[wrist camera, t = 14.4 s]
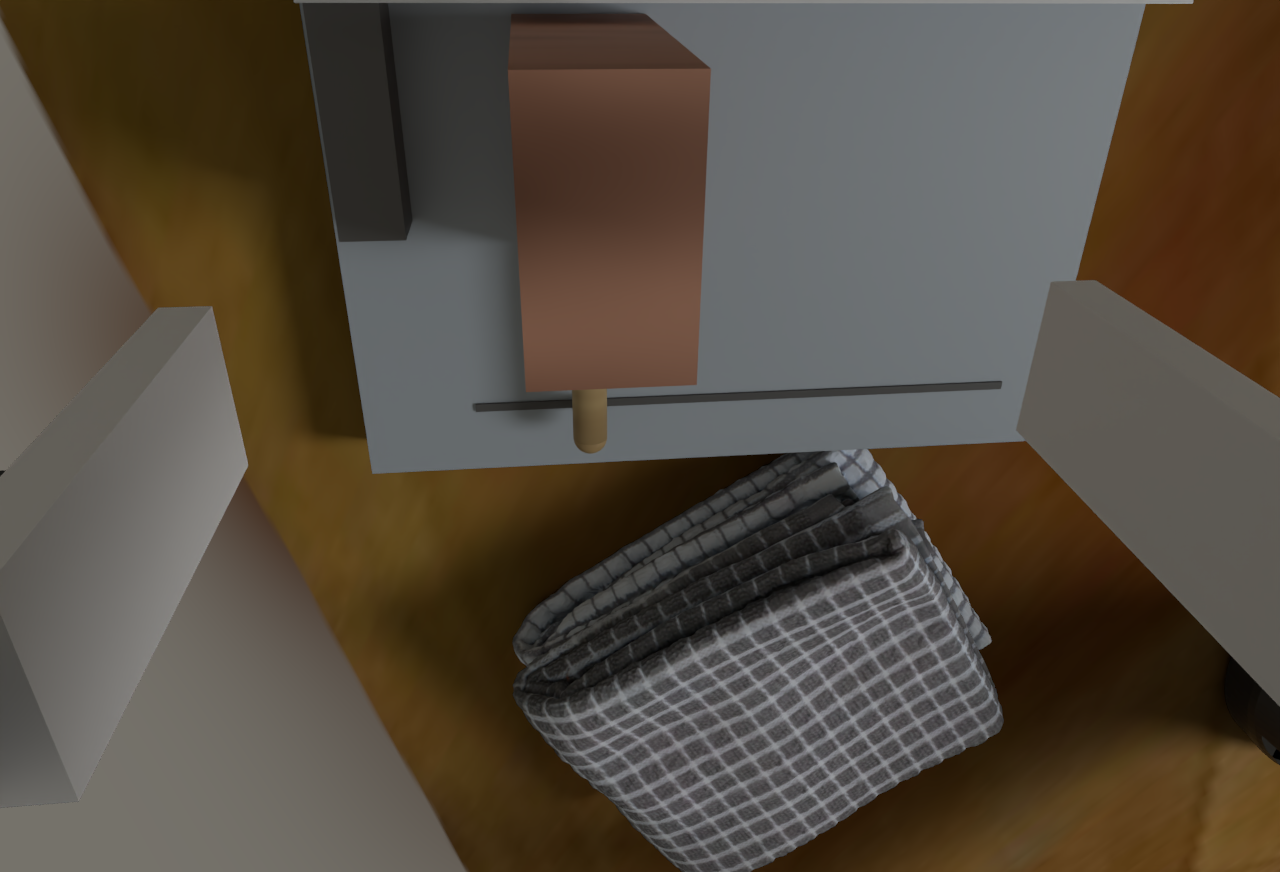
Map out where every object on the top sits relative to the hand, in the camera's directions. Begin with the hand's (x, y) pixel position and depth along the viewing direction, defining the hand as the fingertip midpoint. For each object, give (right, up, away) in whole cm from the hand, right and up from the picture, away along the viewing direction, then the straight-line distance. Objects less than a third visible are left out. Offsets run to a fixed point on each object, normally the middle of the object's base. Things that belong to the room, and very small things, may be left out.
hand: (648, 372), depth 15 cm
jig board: (+3, +7, +19) cm, 20 cm away
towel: (+5, -10, +29) cm, 31 cm away
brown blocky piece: (-2, +5, +16) cm, 17 cm away
